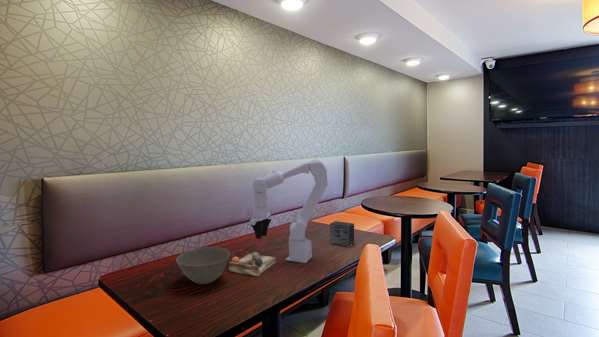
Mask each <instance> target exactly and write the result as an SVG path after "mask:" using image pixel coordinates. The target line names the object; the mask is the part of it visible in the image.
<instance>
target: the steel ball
mask: <svg viewBox="0 0 599 337" xmlns="http://www.w3.org/2000/svg"><path fill="white" fill-rule="evenodd" d="M251 254H252V255H251V257H252V259H254V260H256V259H258V258H259V255H260V253H259V252H258V251H253V252H252V253H251Z"/></svg>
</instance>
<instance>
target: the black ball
mask: <svg viewBox="0 0 599 337" xmlns="http://www.w3.org/2000/svg"><path fill="white" fill-rule="evenodd" d="M255 264H256V266H261V265H262V264H263V261H262V259H260V258H258V259H256V261H255Z"/></svg>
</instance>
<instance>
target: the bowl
mask: <svg viewBox="0 0 599 337" xmlns="http://www.w3.org/2000/svg"><path fill="white" fill-rule="evenodd" d="M230 255H231V252H230V250H228V248H227V249H226V248H223V247H218V246H203V247H197V248H193V249H189V250H186V251H184V252H181V253H180V254H179V255H178V256H177V257H176V258H175V262H176V264H177V265H178V267H179V269H180V270H181V272H182V273H183V274H184V275H185V277H187V278H188V280H190V281H192V282H193V283H196V284H197V285H198V284H199V285H209V284H211V283H213V282H215V281H216V280H217V279H218V278H219V277H220V276H221V275H222V274H223V272H224V270H225V268H226V267H227V263H228V261H229V258H230V257H231V256H230Z"/></svg>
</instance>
